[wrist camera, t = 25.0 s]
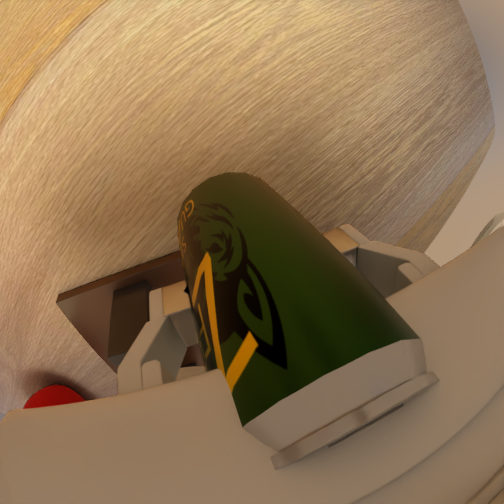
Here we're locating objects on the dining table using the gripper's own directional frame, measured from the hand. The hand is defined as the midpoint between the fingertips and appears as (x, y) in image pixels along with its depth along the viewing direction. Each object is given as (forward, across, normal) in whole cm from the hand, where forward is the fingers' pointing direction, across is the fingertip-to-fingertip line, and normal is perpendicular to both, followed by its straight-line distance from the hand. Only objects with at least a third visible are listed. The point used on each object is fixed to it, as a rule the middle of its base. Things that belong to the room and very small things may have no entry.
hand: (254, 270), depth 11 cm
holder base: (+10, +8, +11) cm, 17 cm away
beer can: (+5, 0, 0) cm, 5 cm away
